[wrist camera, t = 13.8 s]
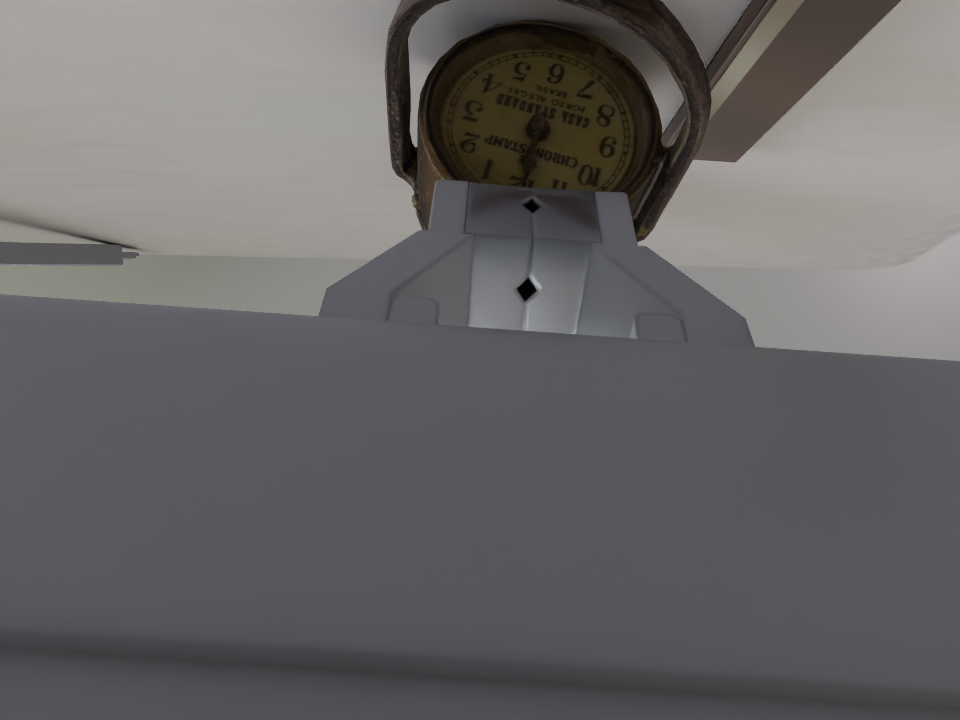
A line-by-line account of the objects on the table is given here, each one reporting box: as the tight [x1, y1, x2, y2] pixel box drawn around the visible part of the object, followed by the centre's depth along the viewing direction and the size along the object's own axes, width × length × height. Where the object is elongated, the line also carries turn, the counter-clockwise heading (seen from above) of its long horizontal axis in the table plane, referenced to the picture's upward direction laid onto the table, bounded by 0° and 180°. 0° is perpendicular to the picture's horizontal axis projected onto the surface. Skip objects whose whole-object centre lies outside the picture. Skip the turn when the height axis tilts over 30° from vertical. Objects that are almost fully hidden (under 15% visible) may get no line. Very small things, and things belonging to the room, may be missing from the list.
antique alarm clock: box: [385, 0, 712, 242], centre depth 21 cm, size 7×13×10 cm
